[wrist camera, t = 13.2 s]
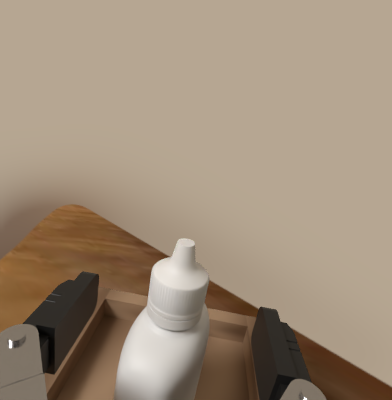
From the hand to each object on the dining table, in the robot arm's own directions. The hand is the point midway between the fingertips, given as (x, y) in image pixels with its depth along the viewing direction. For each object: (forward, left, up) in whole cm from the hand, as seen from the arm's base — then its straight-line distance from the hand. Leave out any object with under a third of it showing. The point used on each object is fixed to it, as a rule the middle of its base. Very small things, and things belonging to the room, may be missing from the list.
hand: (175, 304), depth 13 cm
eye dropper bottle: (0, +1, -8) cm, 8 cm away
